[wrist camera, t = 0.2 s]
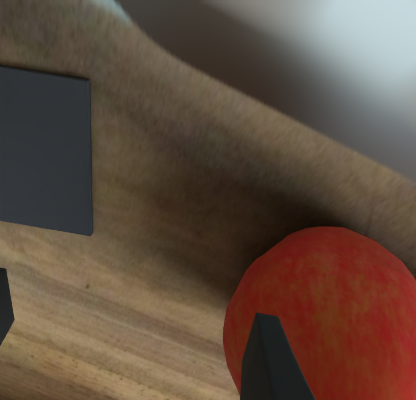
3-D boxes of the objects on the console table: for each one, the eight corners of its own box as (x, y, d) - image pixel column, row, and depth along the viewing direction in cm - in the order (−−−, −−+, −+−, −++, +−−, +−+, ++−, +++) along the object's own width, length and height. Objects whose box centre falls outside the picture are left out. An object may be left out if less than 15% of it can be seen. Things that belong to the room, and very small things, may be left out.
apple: (237, 192, 19) (232, 359, 10) (429, 215, 19) (606, 409, 10) (218, 324, 24) (203, 518, 15) (370, 345, 24) (451, 555, 15)
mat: (93, 232, 21) (90, 236, 21) (-53, 207, 22) (-58, 211, 21) (90, 79, 17) (87, 81, 17) (-92, 49, 17) (-99, 50, 17)
